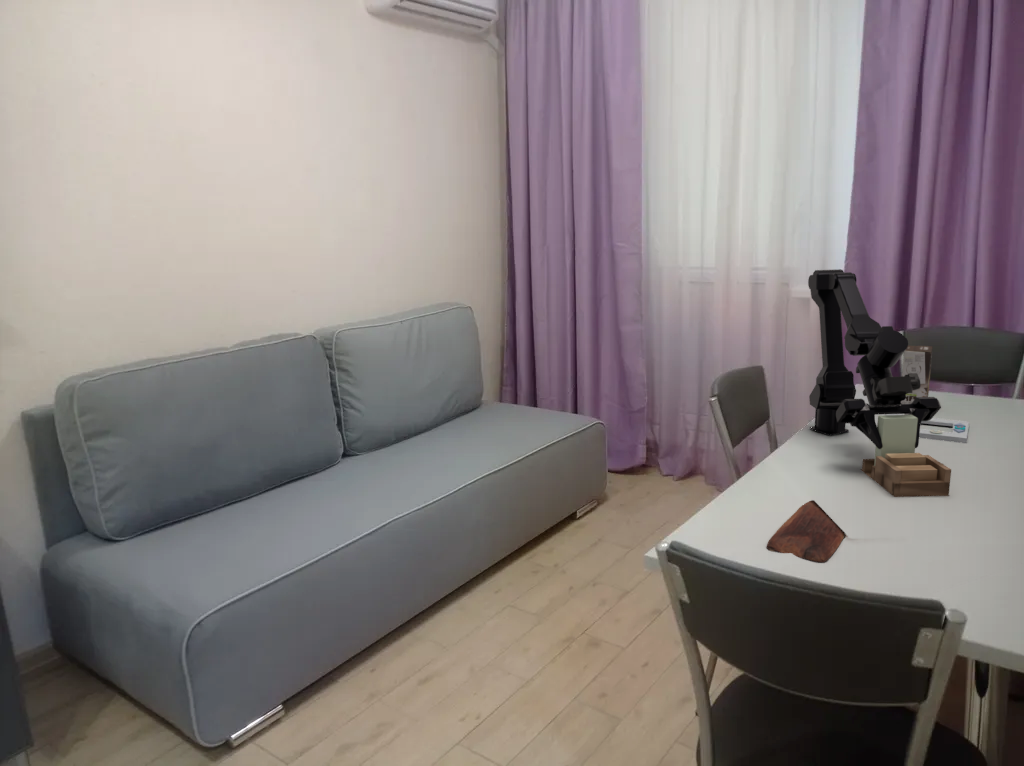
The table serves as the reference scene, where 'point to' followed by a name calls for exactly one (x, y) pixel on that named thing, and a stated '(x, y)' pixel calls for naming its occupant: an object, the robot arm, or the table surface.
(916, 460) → the oak offcut
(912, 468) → the small oak offcut
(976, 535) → the table surface
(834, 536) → the wooden tablet
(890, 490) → the offcut rack
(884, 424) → the tall board
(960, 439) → the electronic device
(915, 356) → the coffee box
